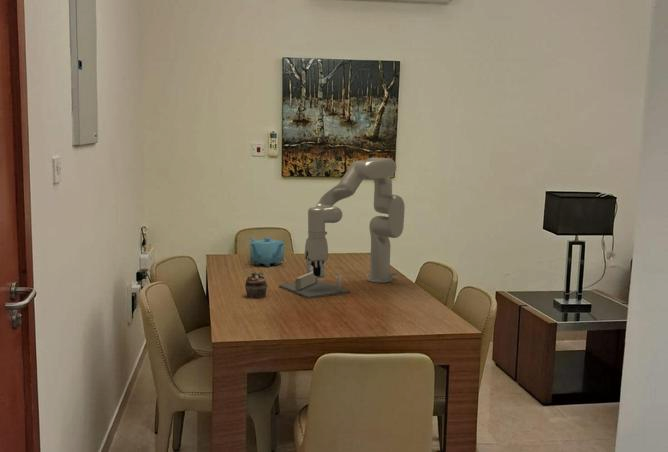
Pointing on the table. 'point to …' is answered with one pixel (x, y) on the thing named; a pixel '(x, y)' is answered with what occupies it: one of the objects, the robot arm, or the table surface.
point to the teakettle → (266, 251)
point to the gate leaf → (305, 280)
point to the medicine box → (311, 266)
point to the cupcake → (256, 286)
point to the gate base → (317, 288)
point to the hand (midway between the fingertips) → (317, 275)
